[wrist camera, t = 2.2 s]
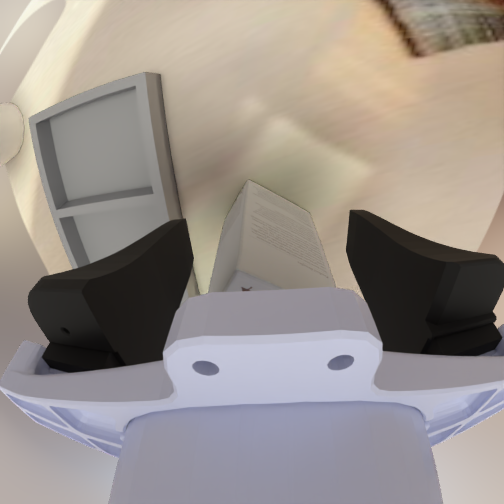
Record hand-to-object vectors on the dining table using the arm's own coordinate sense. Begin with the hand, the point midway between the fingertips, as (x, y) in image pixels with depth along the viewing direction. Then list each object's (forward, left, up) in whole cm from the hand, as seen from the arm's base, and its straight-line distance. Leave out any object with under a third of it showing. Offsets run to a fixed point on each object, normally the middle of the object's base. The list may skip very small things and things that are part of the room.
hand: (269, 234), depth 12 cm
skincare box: (-4, 0, -11) cm, 11 cm away
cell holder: (-5, +13, -10) cm, 17 cm away
